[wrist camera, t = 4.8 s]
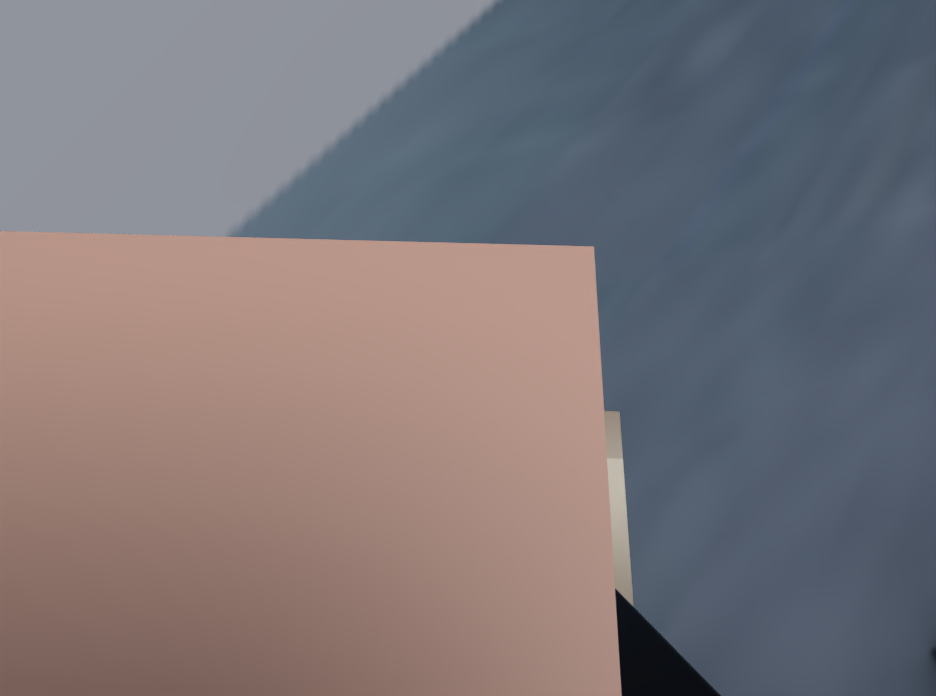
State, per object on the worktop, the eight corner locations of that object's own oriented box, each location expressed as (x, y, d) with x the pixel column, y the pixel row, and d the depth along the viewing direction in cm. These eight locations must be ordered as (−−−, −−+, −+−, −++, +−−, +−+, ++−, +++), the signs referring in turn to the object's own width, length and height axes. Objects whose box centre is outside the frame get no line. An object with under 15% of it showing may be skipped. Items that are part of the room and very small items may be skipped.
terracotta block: (495, 815, 13) (670, 1481, 2) (251, 808, 13) (-789, 1432, 2) (496, 563, 15) (593, 248, 4) (284, 557, 15) (-181, 225, 4)
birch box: (586, 872, 13) (660, 981, 9) (162, 860, 13) (-11, 962, 9) (572, 492, 17) (618, 411, 12) (227, 483, 17) (128, 398, 12)
